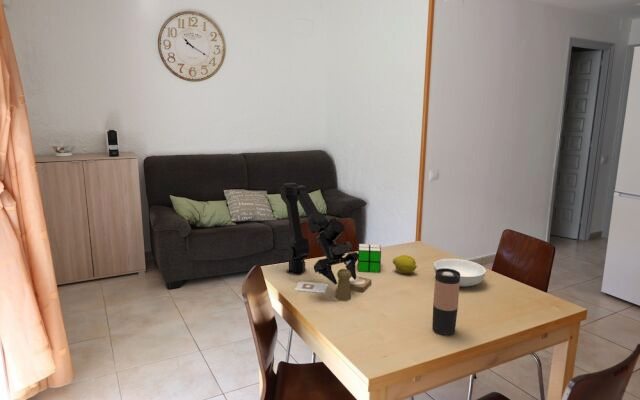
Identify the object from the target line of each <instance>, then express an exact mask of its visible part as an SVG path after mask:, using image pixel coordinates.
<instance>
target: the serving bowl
mask: <svg viewBox="0 0 640 400" xmlns="http://www.w3.org/2000/svg"><path fill="white" fill-rule="evenodd" d="M442 268H447V269H453V270H456V271H458V272H459V273H460V284H459V287H473V286H476V285H478V284H480V283H481V282H482V281H483V280H484V279H485V277H486V273H487V270H486V268H485V267H484V266H483V265H481V264H479V263H477V262H476V261H475V262H474V261H471V260H467V259H461V258H442V259H439V260H436V261H435V262H434V263H433V270H434V273H435V274H436V270H438V269H442Z"/></svg>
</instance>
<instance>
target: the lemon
mask: <svg viewBox="0 0 640 400" xmlns="http://www.w3.org/2000/svg"><path fill="white" fill-rule="evenodd" d="M392 263H393V265H394V267H395V269H396V270H397V271H398V272H400V273H401V274H405V275H407V274H413V273H414V272H415V271H416V269H417V268H418V266H417V262H416V260H415V258H413V257H412V256H410V255H404V254H402V255H400V256H396V257H394V258H393V259H392Z"/></svg>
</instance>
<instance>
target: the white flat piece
mask: <svg viewBox="0 0 640 400" xmlns="http://www.w3.org/2000/svg"><path fill="white" fill-rule="evenodd" d="M328 286H329V284H328V283H321V282H311V281H310V282H309V281H308V282H307V281H299V282H298V284H297V286H296V287H295V288H294V291H295V292H296V291H297V292H307V293H319V294H320V293H321V294H325V293H326V291H327V288H328Z"/></svg>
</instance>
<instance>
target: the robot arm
mask: <svg viewBox="0 0 640 400" xmlns="http://www.w3.org/2000/svg"><path fill="white" fill-rule="evenodd" d="M278 190H279V194H280V199H281V200H282V201H283V203H284V204H285V206H286V213H287V219H288V225H289V230H290V239H289V241H288V249H287V251H285V253H284V254H285V259H287V260H288V270H286V273H288V274H289V273H290V274H294V275H301V274H303V273H304V272H306V271H307V269H306V262H305V259H307V258H308V257H309V253H310V244H309V239H308V238H307V237H305V236H304V235H303V230H302V224H301V218H300V211H299V205H298V203H299V204H300V206H301V208H302V210H303V211H304V213H305V215H306V216H307V225H308V228H309V231H310V232H311V233H312V234H318V235H316V239H315V243H319V244H320V247H321V249H322V256H325V258H321V259H318V260H317V261H316V262H315V264H313V270H314V272H315V274H316V273H318V274H319V275H322V276H323V277H324V278H327V279H328V280H329V281H330V282H332V284H334V285H335V286H336V285H338V280H337V279H336V276H335V274H334V272H333V271H332V268H333V267H332V266H335V265H339V264H343V265H345V269H347V270H349V271H350V272H351V276H352V277H353V279H354V280H355V279H356V276H357V272H356V271H357V270H356V263H357V262H358V258H359V255H358V251H357V252H356V251H354V252H353V251H352V252H351V250H353V246H352V243H351V241H346V242H343V244H342V245H340V244H339V243H336V241H335V240H337V239H338V238H339V237H340V236H341V235H342V233H343V232H344V231H345V224H343V223H342V222H341V221H340V220H338V219H336V217H332V218H330V219H329V220H328V218H327V217H326V216H325V214H324V213H322V212H320V211H319V210H318V209H317V206H316V205H315V203H314V201H313V199H312V198H311V196H310V194H309V193H308V188H307V187H306V186H305V185H300V184H297V183H296V182H290V183H289V182H288V183H282V184H281V185H280V187H279V188H278ZM319 233H320V234H319ZM347 253H348V254H347Z"/></svg>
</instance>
